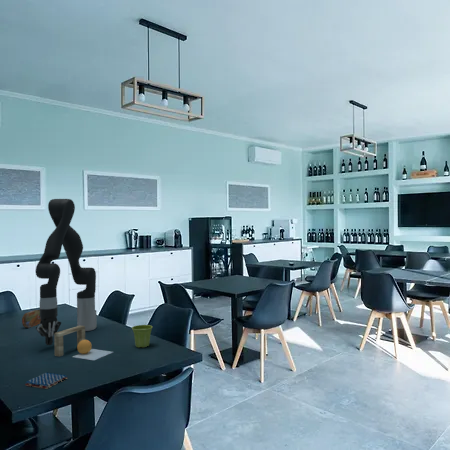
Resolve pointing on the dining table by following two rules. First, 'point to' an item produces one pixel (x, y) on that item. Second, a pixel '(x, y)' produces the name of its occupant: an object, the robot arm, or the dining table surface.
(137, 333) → the plant pot
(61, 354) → the bridge
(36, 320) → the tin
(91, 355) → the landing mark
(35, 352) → the dining table surface
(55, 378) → the woven mat
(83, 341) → the ball
